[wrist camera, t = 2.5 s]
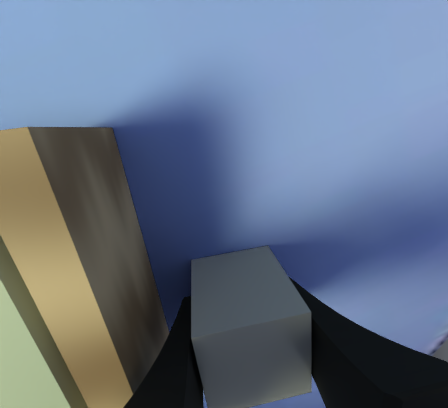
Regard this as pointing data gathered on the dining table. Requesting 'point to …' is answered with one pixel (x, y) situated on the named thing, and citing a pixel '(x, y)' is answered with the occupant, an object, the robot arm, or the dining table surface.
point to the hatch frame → (82, 255)
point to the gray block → (248, 330)
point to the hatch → (29, 350)
